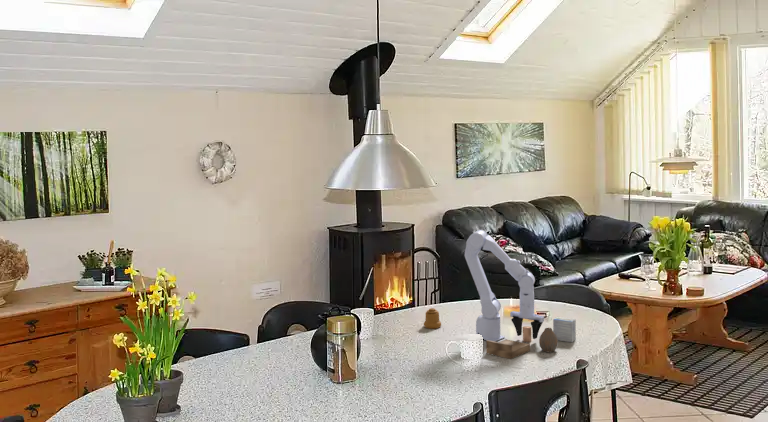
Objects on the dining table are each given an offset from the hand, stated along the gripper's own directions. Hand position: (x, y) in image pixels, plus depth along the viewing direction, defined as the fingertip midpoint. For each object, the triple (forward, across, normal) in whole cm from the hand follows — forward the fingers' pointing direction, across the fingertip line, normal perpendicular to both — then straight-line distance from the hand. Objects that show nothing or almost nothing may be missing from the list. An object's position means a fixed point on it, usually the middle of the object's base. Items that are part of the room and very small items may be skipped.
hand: (527, 336), depth 312 cm
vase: (+2, -13, +6) cm, 15 cm away
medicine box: (+2, -11, -10) cm, 15 cm away
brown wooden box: (+2, -2, +17) cm, 17 cm away
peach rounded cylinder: (+2, 0, 0) cm, 2 cm away
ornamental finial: (+2, +43, +7) cm, 44 cm away
